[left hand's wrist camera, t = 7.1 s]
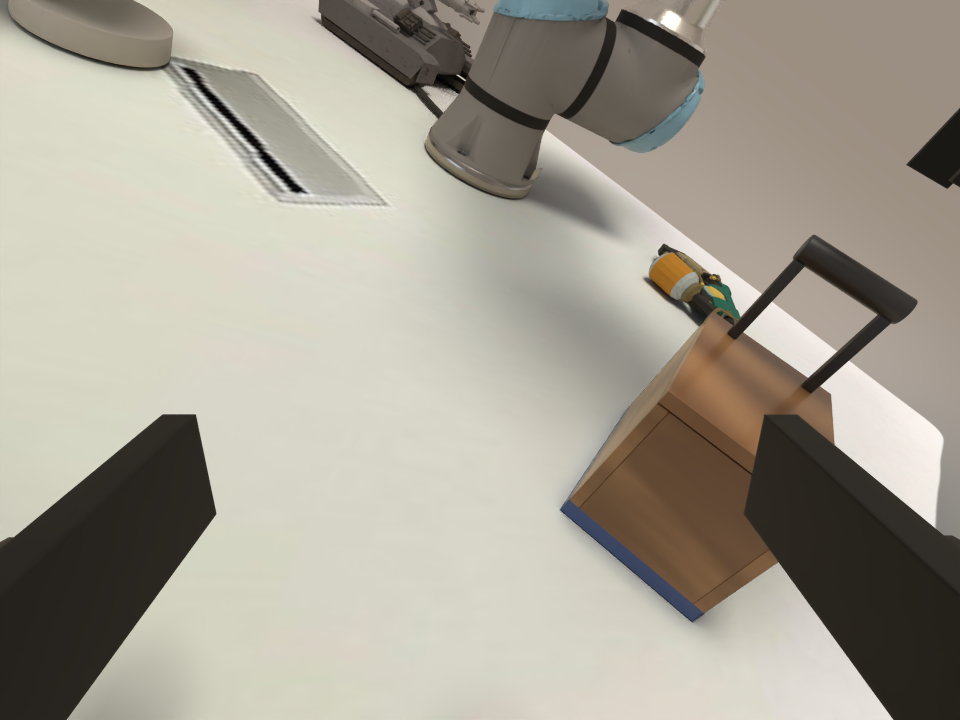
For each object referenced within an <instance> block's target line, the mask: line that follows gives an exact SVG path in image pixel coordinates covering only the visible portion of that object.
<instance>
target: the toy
mask: <svg viewBox="0 0 960 720" xmlns="http://www.w3.org/2000/svg"><path fill="white" fill-rule="evenodd" d="M439 1H441V2H442V3H444V4H445V5H447V6H448V7H451V8H453V9H454V10H455V11H456V12H459V13H460V14H459V15H460V17H464V18H465V19H467V20H468V21H470V22H471V23H472V22H474V23H476V24H477V25H479V24H480V22H479V21H478V19H477V18H476V17H475V15H476V13H477V11H478V12H482V13H484V9H483V8H481V7H480V6H478V5H477V4H476V3H475V2H471V1H470V0H439ZM319 12H320V13H321V19H322V23H323V25H324V26H325V27H327V28H328V29H329V30H331V31H332V32H334V33H335V34H336V35H338V36H339V37H340V38H342V39H343V40H345V41H346V42H347V43H349V44H350V45H351V46H353V47H354V48H356V49H357V50H358V51H360V52H361V53H362V54H364V55H365V56H367V57H368V58H369V59H371V60H372V61H373V62H375V63H376V64H378V65H379V66H380V67H382V68H383V69H384V70H386V71H387V72H389V73H390V74H391V75H393V76H394V77H395V78H397V79H398V80H400V81H401V82H402V83H404V84H405V85H407V86H414V85H415V84H419V86H420V87H424V86H425V85H426V84H430V85H433V83H434V81H435V78H436V75H438V76H439V77H441V78H442V79H444V80H445V81H446V82H448V83H449V84H451V85H452V86H454V87H455V88H456V89H458V90H459V91H461V90H462V88H463V86H464V84H465V81H464V80H462V79H461V78H460V77H458V76H457V75H460V76H461V77H463V78H464V79H467V77H468V74H469V71H470V69H471V67H472V64H473V62H474V60H473V59H471V58H470V57H472V55H471V54H469V53H471V51H470V50H469V49H470V46H469V45H467V44H466V43H464V42H463V41H462V40H461V38H460V36H461V35H460V34H459V32H458V31H456V30H454V29H453V28H451V26H450V24H449V23H446V24H445V23H444V22H442V21H441V20H440V19H439V18H438V17H437V16H436V15H435V14H434V13H435V12H437V8H436V4H435V1H434V0H319ZM459 35H460V36H459ZM463 45H464V46H463ZM465 46H466V47H467V48H466V47H465ZM465 50H466V51H467V52H466V51H465ZM468 52H469V53H468ZM467 55H468V56H467Z"/></svg>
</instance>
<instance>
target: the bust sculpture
mask: <svg viewBox="0 0 960 720" xmlns="http://www.w3.org/2000/svg"><path fill="white" fill-rule="evenodd" d="M8 10H9V13H10V15H11V16H12V18H13V19H14V20H15V21H16V22H17V23H19V24H20V25H21V26H22V27H24V28H25V29H27V30H28V31H30V32H32V33H33V34H35V35H37V36H39V37H40V38H42V39H44V40H46V41H49V42H51V43H53V44H55V45H57V46H60V47H62V48H65V49H67V50H70V51H73V52H76V53H78V54H81V55H84V56H88V57H91V58H94V59H98V60H102V61H106V62H110V63H115V64H120V65H126V66H134V67H158V66H162V65H165V64H167V63H168V62H169V61H170V57H171V47H172V37H173V30H172V28H171V26H170V25H169V24H168V23H167V22H166V21H165V20H164V19H163V18H162V17H160V16H159V15H158V14H156V13H155V12H153V11H152V10H150V9H148V8H147V7H145V6H143V5H141V4H139V3H137V2H135V1H133V0H8Z"/></svg>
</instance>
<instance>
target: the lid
mask: <svg viewBox="0 0 960 720" xmlns="http://www.w3.org/2000/svg"><path fill="white" fill-rule="evenodd" d="M793 259H794V260H793V261H792V262H791V263H790V264H789V265H788V266H787V268H786V269H785V270H784V271H783V272H782V273H781V274H780V275H779V276H778V277H777V278H776V279H775V281H774V282H773V283H772V284H771V285H770V286H769V287H768V288H767V289H766V290H765V291H764V293H763V294H762V295H761V296H760V297H759V298H758V299H757V300H756V301H755V302H754V303H753V305H752V306H751V307H750V308H749V309H748V310H747V311H746V312H745V313H744V314H743V315H742V317H741V318H740V319H739V320H738V321H737V322H736V323H735V324H734V325H732V324H730V323H729V322H728V321H726V320H725V319H723V318H722V317H720V316H719V315H718V314H716V313H715V312H713V311H712V312H711V313H710V314H709V316H708V317H707V318H706V319H705V320H704V322H703V324H702V326H701V328H700V329H699V331H698V333H697V335H696V336H695V338H694V340H693V342H692V343H691V345H690V347H689V349H688V350H687V352H686V354H685V356H684V357H683V359H682V361H681V363H680V364H679V366H678V368H677V370H676V372H675V373H674V375H673V377H672V379H671V380H670V382H669V384H668V386H667V387H666V389H665V391H664V393H663V394H662V396H661V398H660V400H659V403H660V404H661V405H663V406H664V407H665V408H667V409H668V410H669V411H670V412H672V413H673V414H674V415H676V416H677V417H678V418H680V419H681V420H682V421H684V422H685V423H686V424H688V425H689V426H690V427H691V428H693V429H694V430H695V431H697V432H698V433H699V434H701V435H702V436H703V437H705V438H706V439H707V440H708V441H710V442H711V443H712V444H714V445H715V446H716V447H718V448H719V449H720V450H722V451H723V452H724V453H726V454H727V455H728V456H729V457H731V458H732V459H733V460H735V461H736V462H737V463H739V464H740V465H741V466H743V467H744V468H745V469H747V470H748V471H749V472H750V473H752V471H753V466H754V461H755V456H756V452H757V447H758V442H759V437H760V432H761V428H762V423H763V418H764V414H797V415H799V416H800V417H801V418H802V419H803V420H805V421H806V422H807V423H808V424H810V425H811V426H812V427H813V428H814V429H816V430H817V431H818V432H819V433H820V434H822V435H823V436H824V437H825V438H826V439H828V440H829V441H830V442H831V443H833V444H834V431H833V417H832V403H831V394H830V393H828V392H827V391H826V390H824V389H823V388H821V387H820V386H821V385H822V384H823V383H824V382H825V381H826V380H827V379H829V378H830V377H831V376H832V375H833V374H834V373H835V372H836V371H838V370H839V369H840V368H841V367H842V366H843V365H844V364H845V363H847V362H848V361H849V360H850V359H851V358H852V357H853V356H854V355H856V354H857V353H858V352H859V351H860V350H861V349H862V348H864V347H865V346H866V345H867V344H868V343H869V342H870V341H871V340H873V339H874V338H875V337H876V336H877V335H878V334H879V333H881V332H882V331H883V330H884V329H885V328H886V327H887V326H888V325H890V324H896V323H898V322H900V321H901V320H903V319H904V318H905V317H907V316H908V315H909V314H910V313H911V312H912V311H913V309H914V308H915V307H916V305H917V300H916V299H915V298H913V297H911V296H910V295H908V294H907V293H905V292H904V291H902V290H901V289H899V288H897V287H896V286H894V285H893V284H891V283H890V282H888V281H887V280H885V279H883V278H882V277H880V276H879V275H877V274H876V273H874V272H872V271H871V270H869V269H868V268H866V267H865V266H863V265H862V264H860V263H858V262H857V261H855V260H854V259H852V258H851V257H849V256H847V255H846V254H844V253H843V252H841V251H840V250H838V249H837V248H835V247H833V246H832V245H830V244H829V243H827V242H826V241H824V240H822V239H821V238H819V237H818V236H816V235H812V236H811V237H810V238H809V239H808V240H807V241H806V242H805V243H804V244H803V245H802V246H801V247H800V248H799V250H798V251H797V252H796V253H795V255H794V257H793ZM804 267H806V268H807V269H809V270H810V271H812V272H814V273H815V274H817V275H818V276H820V277H821V278H823V279H824V280H826V281H827V282H829V283H830V284H832V285H833V286H835V287H836V288H838V289H839V290H841V291H842V292H844V293H845V294H847V295H849V296H850V297H852V298H853V299H855V300H856V301H858V302H859V303H861V304H862V305H864V306H865V307H867V308H868V309H870V310H871V311H873V312H874V313H876V314H877V316H876V317H875V318H874V319H873V320H872V321H871V322H869V323H868V324H867V325H866V326H865V327H864V328H863V329H862V330H861V331H860V332H858V333H857V334H856V335H855V336H854V337H853V338H852V339H851V340H850V341H849V342H847V343H846V344H845V345H844V346H843V347H842V348H841V349H840V350H839V351H838V352H836V353H835V354H834V355H833V356H832V357H831V358H830V359H829V360H828V361H827V362H825V363H824V364H823V365H822V366H821V367H820V368H819V369H818V370H817V371H816V372H814V373H813V374H812V375H811V376H810V377H809V378H807V377H806V376H804V375H803V374H801V373H800V372H799V371H797V370H796V369H794V368H793V367H791V366H790V365H789V364H787V363H786V362H784V361H783V360H782V359H780V358H779V357H777V356H776V355H774V354H773V353H772V352H770V351H769V350H767V349H766V348H764V347H763V346H762V345H760V344H759V343H757V342H756V341H755V340H753V339H752V338H750V337H749V336H747V335H746V334H745V333H743V332H744V331H745V330H746V328H747V327H748V326H749V325H750V324H751V323H752V322H753V321H754V320H755V319H756V318H757V317H758V316H759V315H760V314H761V312H762V311H763V310H764V309H765V308H766V307H767V306H768V305H769V304H770V303H771V302H772V301H773V300H774V299H775V298H776V297H777V295H778V294H779V293H780V292H781V291H782V290H783V289H784V288H785V287H786V286H787V285H788V284H789V283H790V282H791V281H792V279H793V278H794V277H795V276H796V275H797V274H798V273H799V272H800V271H801V270H802V269H803V268H804Z"/></svg>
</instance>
